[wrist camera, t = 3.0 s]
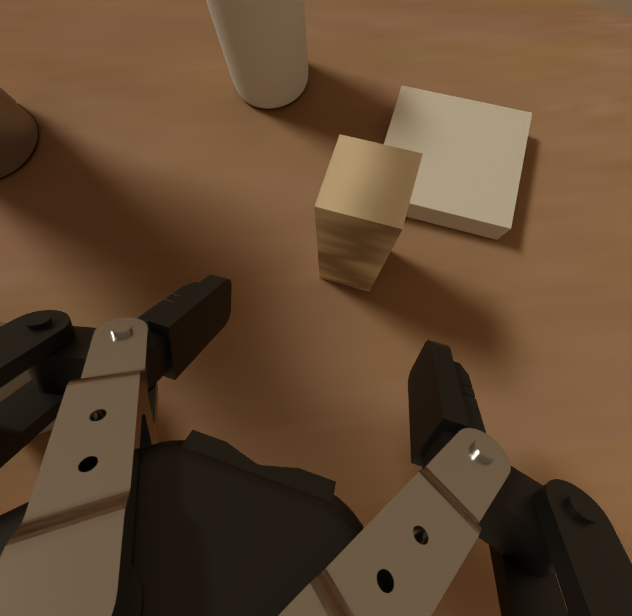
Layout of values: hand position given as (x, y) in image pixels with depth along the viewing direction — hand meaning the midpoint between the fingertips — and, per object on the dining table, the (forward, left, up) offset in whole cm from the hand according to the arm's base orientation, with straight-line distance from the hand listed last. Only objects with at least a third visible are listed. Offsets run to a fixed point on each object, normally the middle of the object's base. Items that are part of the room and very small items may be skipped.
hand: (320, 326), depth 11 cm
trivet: (-11, +17, -12) cm, 24 cm away
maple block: (-6, +5, -13) cm, 15 cm away
